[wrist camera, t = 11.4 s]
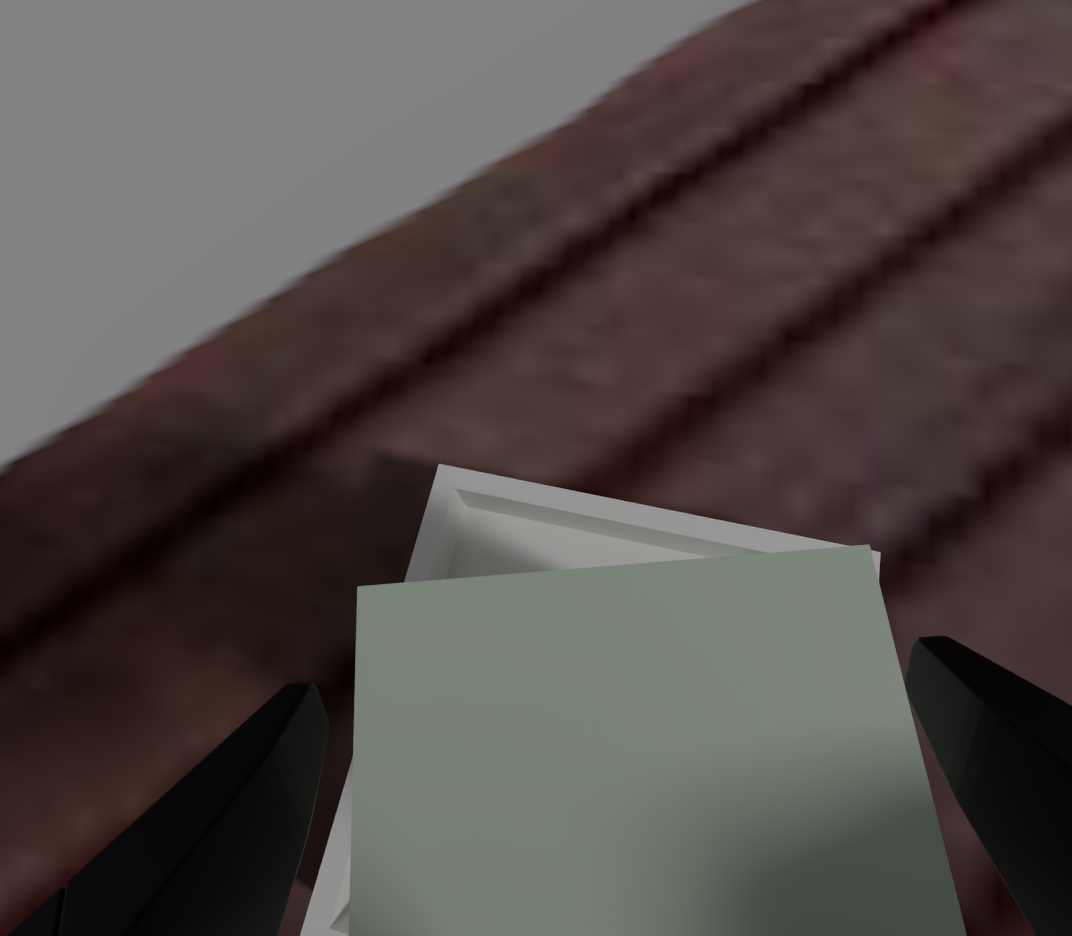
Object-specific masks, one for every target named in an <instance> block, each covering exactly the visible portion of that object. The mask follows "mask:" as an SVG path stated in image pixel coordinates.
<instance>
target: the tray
mask: <svg viewBox="0 0 1072 936" xmlns="http://www.w3.org/2000/svg"><path fill="white" fill-rule="evenodd" d="M834 547H846V545H841V544H836V543H831V542H826V541H821V540H816V539H811V538H807V537H802V536H797V535H792V534H787V533H782V532H777V531H772V530H767V529H762V528H757V527H752V526H747V525H742V524H737V523H732V522H727V521H722V520H717V519H712V518H707V517H702V516H697V515H692V514H687V513H682V512H677V511H672V510H667V509H662V508H657V507H652V506H647V505H642V504H637V503H632V502H627V501H622V500H617V499H612V498H607V497H602V496H597V495H592V494H587V493H582V492H577V491H572V490H567V489H562V488H557V487H552V486H547V485H542V484H537V483H532V482H527V481H522V480H517V479H512V478H507V477H502V476H497V475H492V474H487V473H482V472H477V471H472V470H467V469H462V468H457V467H453V466H448V465H443V464H439V465H438V469H437V472H436V476H435V479H434V482H433V486H432V489H431V493H430V496H429V499H428V503H427V506H426V510H425V513H424V516H423V520H422V523H421V527H420V530H419V533H418V537H417V540H416V544H415V547H414V550H413V554H412V557H411V561H410V564H409V567H408V571H407V574H406V578H405V581H404V583H406V582H418V581H430V580H442V579H455V578H467V577H479V576H491V575H503V574H516V573H528V572H540V571H552V570H565V569H577V568H589V567H601V566H614V565H626V564H638V563H650V562H662V561H675V560H687V559H699V558H711V557H724V556H736V555H748V554H760V553H773V552H785V551H797V550H809V549H821V548H834ZM871 553H872V557H873V561H874V565H875V569H876V573H877V577H878V581H879V568H880V552H876V551H871ZM352 779H353V758H352V761H351V765H350V768H349V771H348V775H347V778H346V781H345V785H344V788H343V792H342V795H341V798H340V802H339V805H338V809H337V812H336V815H335V819H334V822H333V826H332V829H331V832H330V836H329V839H328V843H327V846H326V849H325V853H324V856H323V860H322V863H321V866H320V870H319V873H318V877H317V880H316V883H315V887H314V890H313V894H312V897H311V900H310V904H309V907H308V911H307V914H306V917H305V921H304V924H303V928H302V931H301V934H300V936H349V899H350V859H351V819H352Z"/></svg>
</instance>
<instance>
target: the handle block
mask: <svg viewBox="0 0 1072 936" xmlns="http://www.w3.org/2000/svg"><path fill="white" fill-rule="evenodd" d="M349 936H967V935H966V931H965V927H964V923H963V919H962V915H961V911H960V907H959V903H958V899H957V895H956V891H955V887H954V883H953V879H952V875H951V871H950V867H949V863H948V859H947V855H946V851H945V847H944V842H943V838H942V834H941V830H940V826H939V822H938V818H937V814H936V810H935V806H934V802H933V798H932V794H931V790H930V786H929V782H928V778H927V774H926V770H925V766H924V762H923V758H922V754H921V750H920V746H919V742H918V738H917V734H916V730H915V726H914V722H913V718H912V714H911V710H910V706H909V702H908V698H907V694H906V690H905V686H904V682H903V678H902V674H901V670H900V666H899V662H898V657H897V653H896V649H895V645H894V641H893V637H892V633H891V629H890V625H889V621H888V617H887V613H886V609H885V605H884V601H883V597H882V593H881V589H880V585H879V581H878V577H877V573H876V569H875V565H874V561H873V557H872V553H871V549H870V545H858V546H846V547H834V548H821V549H809V550H797V551H785V552H773V553H760V554H748V555H736V556H724V557H711V558H699V559H687V560H675V561H662V562H650V563H638V564H626V565H614V566H601V567H589V568H577V569H565V570H552V571H540V572H528V573H516V574H503V575H491V576H479V577H467V578H455V579H442V580H430V581H418V582H406V583H393V584H381V585H369V586H357V620H356V660H355V700H354V740H353V779H352V819H351V859H350V899H349Z"/></svg>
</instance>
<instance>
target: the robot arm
mask: <svg viewBox="0 0 1072 936" xmlns="http://www.w3.org/2000/svg"><path fill="white" fill-rule="evenodd" d="M905 688H906V692H907V695H908V697H909V700H910V702H911V704H912V706H913V708H914V711H915V713H916V715H917V717H918V719H919V721H920V724H921V726H922V728H923V730H924V732H925V734H926V737H927V739H928V741H929V743H930V745H931V747H932V750H933V752H934V754H935V756H936V758H937V760H938V763H939V765H940V767H941V769H942V771H943V773H944V776H945V778H946V780H947V782H948V784H949V786H950V788H951V790H952V792H953V794H954V796H955V798H956V800H957V802H958V803H959V805H960V807H961V809H962V811H963V812H964V814H965V816H966V818H967V819H968V821H969V823H970V824H971V826H972V828H973V829H974V831H975V833H976V835H977V836H978V838H979V840H980V841H981V843H982V845H983V847H984V848H985V850H986V852H987V853H988V855H989V857H990V858H991V860H992V862H993V864H994V865H995V867H996V869H997V870H998V872H999V874H1000V875H1001V877H1002V879H1003V881H1004V882H1005V884H1006V886H1007V887H1008V889H1009V891H1010V893H1011V894H1012V896H1013V898H1014V899H1015V901H1016V903H1017V904H1018V906H1019V908H1020V910H1021V911H1022V913H1023V915H1024V916H1025V918H1026V920H1027V921H1028V923H1029V925H1030V927H1031V928H1032V930H1033V932H1034V933H1035V935H1036V936H1072V705H1070V704H1068V703H1066V702H1064V701H1063V700H1061V699H1059V698H1057V697H1055V696H1054V695H1052V694H1050V693H1048V692H1046V691H1045V690H1043V689H1041V688H1039V687H1037V686H1036V685H1034V684H1032V683H1030V682H1028V681H1027V680H1025V679H1023V678H1021V677H1020V676H1018V675H1016V674H1014V673H1012V672H1011V671H1009V670H1007V669H1005V668H1003V667H1002V666H1000V665H998V664H996V663H994V662H993V661H991V660H989V659H987V658H985V657H984V656H982V655H980V654H978V653H976V652H975V651H973V650H971V649H969V648H967V647H966V646H964V645H962V644H960V643H959V642H957V641H955V640H953V639H951V638H949V637H946V636H932V637H920V638H917V639H916V640H915V641H914V642H913V644H912V647H911V652H910V656H909V661H908V666H907V670H906V675H905ZM328 735H329V722H328V718H327V715H326V712H325V709H324V706H323V703H322V701H321V698H320V695H319V692H318V689H317V687H316V686H315V685H314V684H313V683H296V684H288V685H286V686H284V687H283V688H282V689H281V690H279V691H278V692H277V693H276V694H275V695H274V696H273V697H272V698H271V699H269V700H268V701H267V702H266V703H265V704H264V705H263V706H262V707H261V708H259V709H258V710H257V711H256V712H255V713H254V714H253V715H252V716H251V717H249V718H248V719H247V720H246V721H245V722H244V723H243V724H242V725H241V726H240V727H238V728H237V729H236V730H235V731H234V732H233V733H232V734H231V735H230V736H228V737H227V738H226V739H225V740H224V741H223V742H222V743H221V744H220V745H218V746H217V747H216V748H215V749H214V750H213V751H212V752H211V753H210V754H208V755H207V756H206V757H205V758H204V759H203V760H202V761H201V762H200V763H199V764H197V765H196V766H195V767H194V768H193V769H192V770H191V771H190V772H189V773H187V774H186V775H185V776H184V777H183V778H182V779H181V780H180V781H179V782H177V783H176V784H175V785H174V786H173V787H172V788H171V789H170V790H169V791H168V792H166V793H165V794H164V795H163V796H162V797H161V798H160V799H159V800H158V801H156V802H155V803H154V804H153V805H152V806H151V807H150V808H149V809H148V810H146V811H145V812H144V813H143V814H142V815H141V816H140V817H139V818H138V819H136V820H135V821H134V822H133V823H132V824H131V825H130V826H129V827H128V828H127V829H125V830H124V831H123V832H122V833H121V834H120V835H119V836H118V837H117V838H115V839H114V840H113V841H112V842H111V843H110V844H109V845H108V846H107V847H105V848H104V849H103V850H102V851H101V852H100V853H99V854H98V855H97V856H96V857H94V858H93V859H92V860H91V861H90V862H89V863H88V864H87V865H86V866H84V867H83V868H82V869H81V870H80V871H79V872H78V873H77V874H76V875H74V876H73V877H72V878H71V879H70V880H69V881H68V882H67V883H66V886H65V888H60V889H59V890H58V891H56V892H55V893H54V894H53V895H52V896H51V897H50V898H49V899H48V900H46V901H45V902H44V903H43V904H42V905H41V906H40V907H39V908H38V909H37V910H35V911H34V912H33V913H32V914H31V915H30V916H29V917H28V918H26V919H25V920H24V921H23V922H22V923H21V924H20V925H18V926H17V927H16V928H15V929H14V930H13V931H12V932H10V933H9V934H8V935H7V936H278V933H279V930H280V926H281V923H282V920H283V917H284V913H285V910H286V907H287V904H288V900H289V897H290V894H291V891H292V888H293V884H294V881H295V878H296V875H297V871H298V868H299V865H300V862H301V858H302V855H303V852H304V848H305V845H306V841H307V838H308V833H309V829H310V825H311V820H312V815H313V810H314V805H315V800H316V795H317V790H318V786H319V781H320V776H321V771H322V766H323V761H324V756H325V751H326V746H327V741H328Z"/></svg>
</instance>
